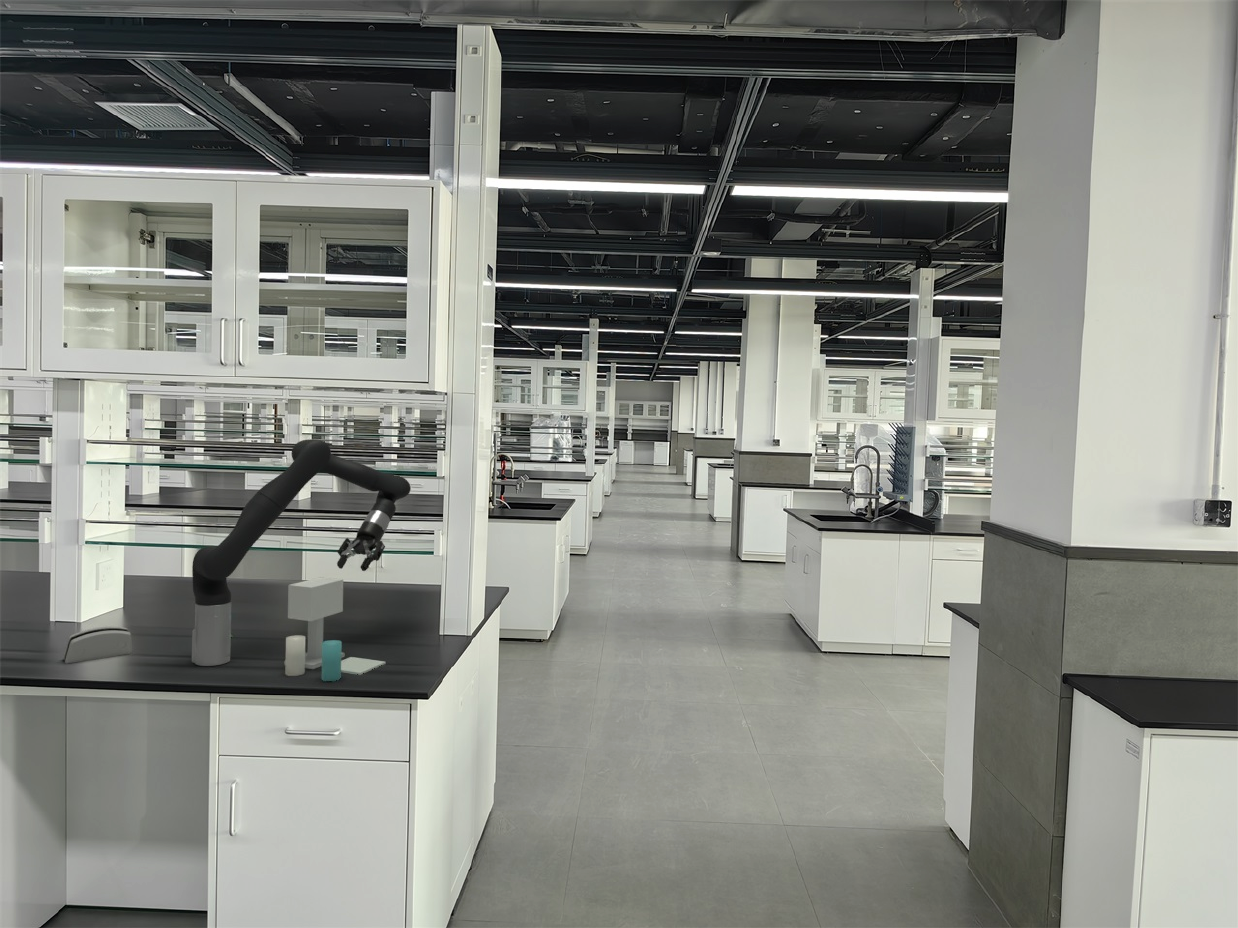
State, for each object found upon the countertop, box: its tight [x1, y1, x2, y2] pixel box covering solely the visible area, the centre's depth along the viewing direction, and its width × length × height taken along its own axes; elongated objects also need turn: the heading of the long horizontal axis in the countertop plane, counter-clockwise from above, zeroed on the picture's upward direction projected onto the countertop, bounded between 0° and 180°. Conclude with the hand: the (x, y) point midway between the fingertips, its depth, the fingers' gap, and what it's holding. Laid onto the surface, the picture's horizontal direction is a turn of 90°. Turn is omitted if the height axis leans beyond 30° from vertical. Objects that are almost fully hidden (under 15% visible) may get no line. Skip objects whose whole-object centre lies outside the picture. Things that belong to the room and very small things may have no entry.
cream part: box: [284, 634, 306, 677], centre depth 226 cm, size 5×5×10 cm
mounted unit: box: [283, 576, 346, 670], centre depth 238 cm, size 10×15×23 cm
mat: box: [341, 656, 387, 676], centre depth 234 cm, size 12×12×1 cm
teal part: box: [321, 639, 342, 682], centre depth 222 cm, size 5×5×10 cm
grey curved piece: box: [62, 626, 133, 664], centre depth 234 cm, size 17×5×10 cm, turn 136°
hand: (350, 568), depth 252 cm, fingers open, 8 cm apart
